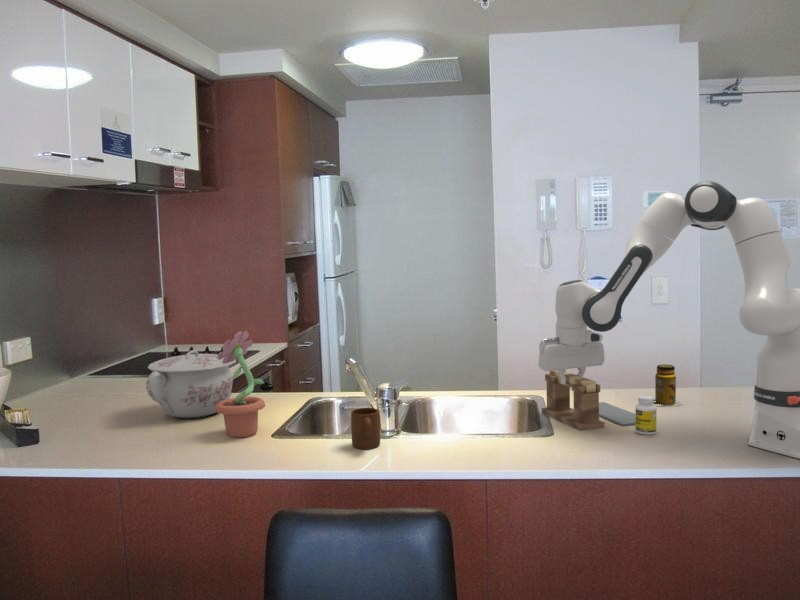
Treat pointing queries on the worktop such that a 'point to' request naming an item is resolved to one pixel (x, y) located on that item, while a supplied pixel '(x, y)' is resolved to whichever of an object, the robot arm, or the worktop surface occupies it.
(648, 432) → the supplement bottle
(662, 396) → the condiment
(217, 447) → the worktop surface
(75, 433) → the worktop surface
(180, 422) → the worktop surface
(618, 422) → the mat
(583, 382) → the rail
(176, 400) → the chamber pot
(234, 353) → the decorative flower
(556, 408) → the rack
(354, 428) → the mug
